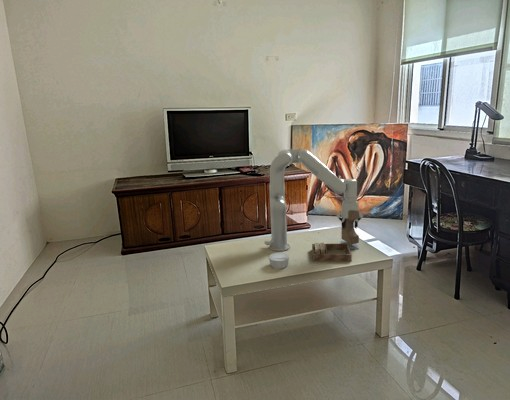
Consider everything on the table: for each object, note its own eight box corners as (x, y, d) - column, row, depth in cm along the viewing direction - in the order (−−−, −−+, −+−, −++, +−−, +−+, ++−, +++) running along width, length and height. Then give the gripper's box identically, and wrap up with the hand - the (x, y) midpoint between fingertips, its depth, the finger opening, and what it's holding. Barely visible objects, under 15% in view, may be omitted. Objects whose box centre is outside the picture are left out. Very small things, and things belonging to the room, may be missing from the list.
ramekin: (277, 271, 190) (277, 262, 189) (265, 265, 199) (264, 256, 198) (293, 265, 196) (293, 256, 195) (280, 259, 205) (280, 251, 204)
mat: (343, 249, 216) (343, 248, 216) (340, 241, 228) (340, 240, 228) (358, 249, 215) (358, 248, 215) (355, 241, 227) (355, 240, 227)
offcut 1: (315, 259, 204) (315, 249, 202) (314, 252, 213) (314, 242, 212) (319, 259, 204) (319, 249, 202) (318, 252, 213) (318, 242, 212)
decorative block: (359, 243, 217) (359, 211, 212) (350, 244, 215) (351, 212, 210) (349, 237, 227) (349, 207, 222) (341, 239, 225) (341, 208, 221)
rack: (313, 261, 201) (313, 254, 200) (312, 249, 217) (312, 243, 216) (351, 261, 198) (351, 254, 197) (347, 249, 214) (347, 243, 213)
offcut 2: (320, 259, 203) (320, 249, 202) (319, 252, 213) (319, 242, 212) (325, 259, 203) (325, 249, 202) (323, 252, 213) (323, 242, 211)
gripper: (336, 201, 212) (335, 229, 216) (366, 200, 210) (365, 229, 214) (334, 198, 219) (334, 226, 223) (363, 197, 217) (363, 225, 221)
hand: (349, 227), depth 219 cm, fingers closed on decorative block, 6 cm apart
